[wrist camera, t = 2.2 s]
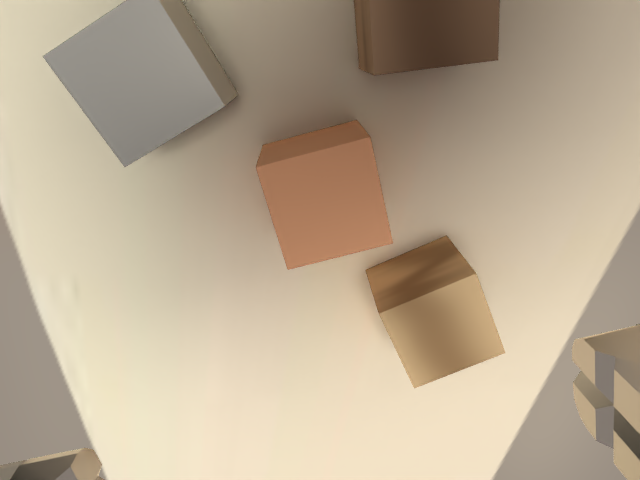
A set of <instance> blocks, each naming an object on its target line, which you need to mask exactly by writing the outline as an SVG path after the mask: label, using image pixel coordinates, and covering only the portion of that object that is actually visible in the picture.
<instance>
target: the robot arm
mask: <svg viewBox="0 0 640 480" xmlns="http://www.w3.org/2000/svg"><path fill="white" fill-rule="evenodd" d="M572 361H573V362H574V363H575V364H576V365H577V366H578V367H579V369H580V370H581V371H580V373H579V374H578V376H577V377H576V379H575V380H574V381H573V391H574V400H575V403H576V406H577V409H578V412H579V415H580V417H581V419H582V421H583V423H584V424H585V426H586V428H587V429H588V431H589V432H590V433H591V435H592V436H593V437H594V439H595V440H596V441H598V442H600V443H602V444H605V445H606V446H609V447H611V448H613V449H614V464H615V465H616V466H617V468H618V469H619V470H620V471H621V473H622V474H623V475H624V476H625V478H626V479H627V480H640V324H636V326H631V327H627V328H622V329H618V330H614V331H609V332H605V333H600V334H596V335H592V336H587V337H583V338H579V339H575V340H574V343H573V346H572ZM101 466H102V463H101V462H100V460H99V458H98V456H97V455H96V453H95V451H94V450H92V449H88V448H82V449H77V450H72V451H66V452H61V453H57V454H51V455H46V456H41V457H36V458H31V459H28V460H23V461H18V462H13V463H8V464H4V465H0V480H105V479H103V478H101V477H99V476H98V475H99V472H100V469H101Z"/></svg>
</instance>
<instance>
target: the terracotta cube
mask: <svg viewBox="0 0 640 480" xmlns="http://www.w3.org/2000/svg"><path fill="white" fill-rule="evenodd" d="M256 170H257V173H258V176H259V179H260V183H261V186H262V189H263V192H264V195H265V199H266V202H267V205H268V208H269V211H270V214H271V218H272V221H273V224H274V227H275V230H276V234H277V237H278V240H279V243H280V246H281V250H282V253H283V256H284V259H285V262H286V266H287V269H288V270H289V269H293V268H297V267H301V266H305V265H309V264H313V263H317V262H321V261H325V260H329V259H333V258H337V257H340V256H344V255H348V254H352V253H356V252H360V251H364V250H368V249H372V248H376V247H380V246H384V245H388V244H392V243H393V241H392V236H391V231H390V227H389V222H388V217H387V213H386V208H385V203H384V199H383V194H382V189H381V185H380V180H379V175H378V171H377V166H376V161H375V157H374V152H373V147H372V143H371V138H370V136H369V135H368V134H367V132H366V131H365V130H364V129H363V127H362V126H361V125H360V123H359V122H358V121H357V120H354V121H351V122H347V123H343V124H339V125H336V126H332V127H328V128H324V129H321V130H317V131H313V132H309V133H306V134H302V135H298V136H294V137H291V138H287V139H283V140H280V141H276V142H272V143H268V144H265V145H263V146H262V150H261V153H260V156H259V159H258V162H257V165H256Z"/></svg>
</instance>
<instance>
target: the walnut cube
mask: <svg viewBox="0 0 640 480" xmlns="http://www.w3.org/2000/svg"><path fill="white" fill-rule="evenodd" d="M499 3H500V0H354V8H355V20H356V33H357V46H358V59H359V69H361V70H363V71H365V72H368V73H370V74H372V75H381V74H389V73H397V72H405V71H413V70H422V69H430V68H438V67H446V66H454V65H462V64H471V63H479V62H487V61H495V60H498V43H499Z"/></svg>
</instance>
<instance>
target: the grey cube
mask: <svg viewBox="0 0 640 480" xmlns="http://www.w3.org/2000/svg"><path fill="white" fill-rule="evenodd" d="M43 58H44V59H45V60H46V62H47V63H48V64H49V66H50V67H51V68H52V70H53V71H54V72H55V74H56V75H57V76H58V78H59V79H60V81H61V82H62V83H63V85H64V86H65V87H66V89H67V90H68V91H69V93H70V94H71V95H72V97H73V98H74V99H75V101H76V102H77V103H78V105H79V106H80V108H81V109H82V110H83V112H84V113H85V114H86V116H87V117H88V118H89V120H90V121H91V122H92V124H93V125H94V126H95V128H96V129H97V130H98V132H99V133H100V135H101V136H102V137H103V139H104V140H105V141H106V143H107V144H108V145H109V147H110V148H111V149H112V151H113V152H114V153H115V155H116V156H117V157H118V159H119V160H120V161H121V163H122V164H123V166H124V167H126V166H128V165H129V164H131V163H133V162H134V161H136V160H138V159H139V158H141V157H143V156H144V155H146V154H147V153H149V152H151V151H152V150H154V149H156V148H157V147H159V146H161V145H162V144H164V143H166V142H167V141H169V140H171V139H172V138H174V137H175V136H177V135H179V134H180V133H182V132H184V131H185V130H187V129H189V128H190V127H192V126H194V125H195V124H197V123H199V122H200V121H202V120H203V119H205V118H207V117H208V116H210V115H212V114H213V113H215V112H217V111H218V110H220V109H222V108H223V107H225V106H226V105H227V104H228V103H229V102H230V101H232V100H233V99H234V98H235V97H236V96H237V95H238V93H237V91H236V90H235V88H234V86H233V85H232V83H231V81H230V80H229V78H228V76H227V75H226V73H225V72H224V70H223V68H222V67H221V65H220V63H219V62H218V60H217V58H216V57H215V55H214V53H213V52H212V50H211V49H210V47H209V45H208V44H207V42H206V40H205V39H204V37H203V35H202V34H201V32H200V30H199V29H198V27H197V26H196V24H195V22H194V21H193V19H192V17H191V16H190V14H189V12H188V11H187V9H186V7H185V6H184V4H183V2H182V1H181V0H126V1H125V2H123V3H122V4H120V5H119V6H117V7H116V8H114V9H113V10H111V11H110V12H108V13H107V14H105V15H104V16H102V17H101V18H99V19H98V20H96V21H95V22H93V23H92V24H90V25H89V26H87V27H86V28H84V29H83V30H81V31H80V32H78V33H77V34H75V35H74V36H72V37H71V38H69V39H68V40H66V41H65V42H63V43H62V44H60V45H59V46H57V47H56V48H54V49H53V50H51V51H50V52H48V53H47V54H45V55H44V56H43Z"/></svg>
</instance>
